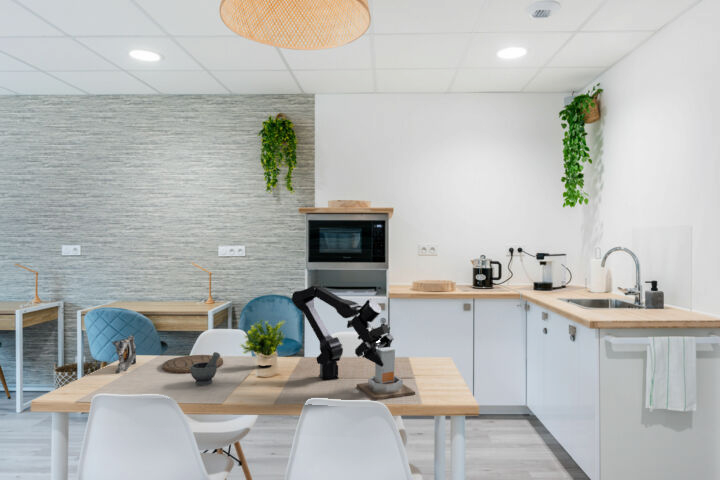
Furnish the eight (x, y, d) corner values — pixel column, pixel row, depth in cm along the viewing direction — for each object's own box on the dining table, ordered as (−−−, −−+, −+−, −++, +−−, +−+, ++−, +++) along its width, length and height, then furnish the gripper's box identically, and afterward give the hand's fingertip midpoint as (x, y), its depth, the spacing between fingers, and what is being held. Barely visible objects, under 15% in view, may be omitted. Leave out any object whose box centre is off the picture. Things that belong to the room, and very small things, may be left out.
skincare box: (380, 384, 163) (381, 350, 163) (374, 380, 167) (375, 348, 167) (394, 381, 166) (395, 349, 166) (388, 378, 170) (389, 346, 170)
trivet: (215, 356, 217) (215, 352, 217) (229, 369, 195) (229, 364, 195) (158, 363, 204) (158, 359, 204) (167, 377, 182) (167, 372, 182)
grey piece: (126, 364, 201) (126, 334, 201) (136, 364, 201) (136, 334, 201) (111, 374, 186) (112, 342, 186) (122, 373, 186) (123, 341, 187)
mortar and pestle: (185, 386, 170) (185, 354, 170) (197, 379, 179) (197, 348, 179) (214, 387, 169) (214, 355, 169) (224, 380, 178) (224, 349, 178)
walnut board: (374, 400, 156) (374, 397, 156) (356, 386, 171) (356, 384, 171) (415, 394, 162) (415, 391, 162) (394, 381, 177) (394, 379, 177)
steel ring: (377, 394, 159) (377, 386, 159) (364, 385, 170) (364, 377, 170) (407, 390, 164) (407, 382, 164) (392, 381, 174) (392, 373, 174)
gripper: (362, 319, 162) (388, 355, 155) (390, 313, 177) (414, 346, 170) (344, 338, 166) (368, 374, 160) (372, 331, 181) (396, 363, 175)
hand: (388, 363), depth 166 cm, fingers closed on skincare box, 7 cm apart
